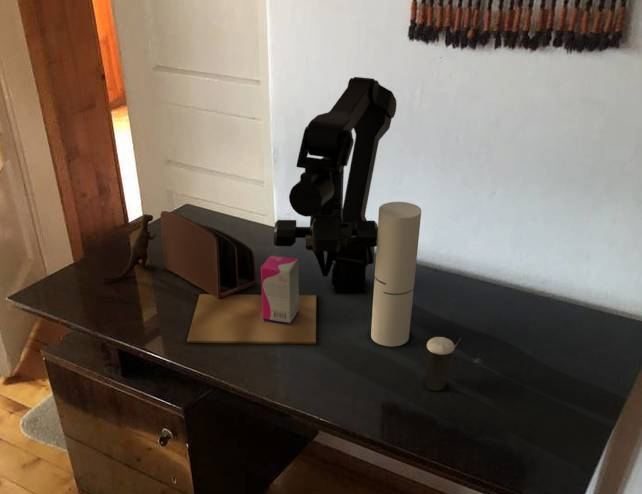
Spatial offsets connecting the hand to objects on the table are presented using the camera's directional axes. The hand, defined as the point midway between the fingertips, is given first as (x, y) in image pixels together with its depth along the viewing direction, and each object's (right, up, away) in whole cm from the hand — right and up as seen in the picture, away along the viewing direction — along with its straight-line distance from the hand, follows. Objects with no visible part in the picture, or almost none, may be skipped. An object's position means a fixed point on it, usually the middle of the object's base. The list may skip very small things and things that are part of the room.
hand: (325, 275), depth 138 cm
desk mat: (-14, -8, +6) cm, 17 cm away
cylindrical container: (+12, -12, +1) cm, 17 cm away
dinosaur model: (-41, +4, +21) cm, 47 cm away
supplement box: (-8, -7, +6) cm, 13 cm away
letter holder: (-24, +3, +20) cm, 31 cm away
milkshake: (+19, -21, -12) cm, 31 cm away
